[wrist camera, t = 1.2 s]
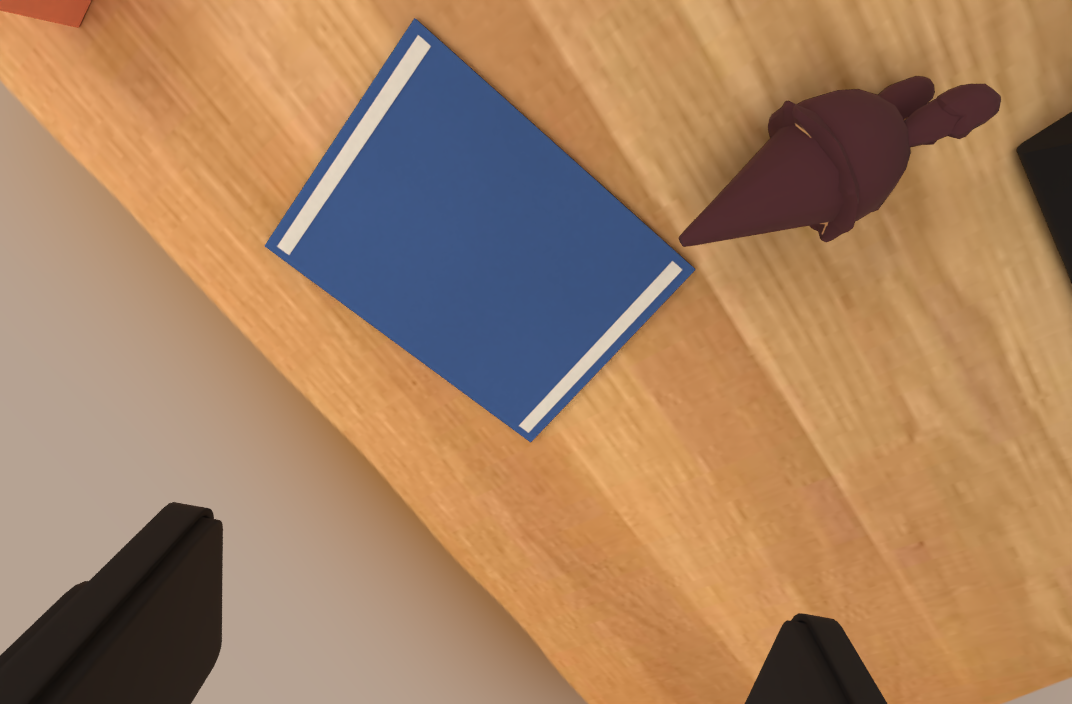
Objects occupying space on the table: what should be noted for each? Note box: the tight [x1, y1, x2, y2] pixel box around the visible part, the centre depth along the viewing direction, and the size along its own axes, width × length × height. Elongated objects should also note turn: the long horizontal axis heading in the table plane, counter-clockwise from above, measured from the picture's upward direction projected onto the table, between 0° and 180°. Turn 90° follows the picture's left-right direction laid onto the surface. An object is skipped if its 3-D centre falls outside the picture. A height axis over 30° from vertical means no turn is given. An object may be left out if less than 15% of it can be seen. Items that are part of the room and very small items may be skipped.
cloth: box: [265, 19, 695, 442], centre depth 33 cm, size 15×20×1 cm
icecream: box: [679, 76, 1001, 247], centre depth 28 cm, size 7×7×15 cm
